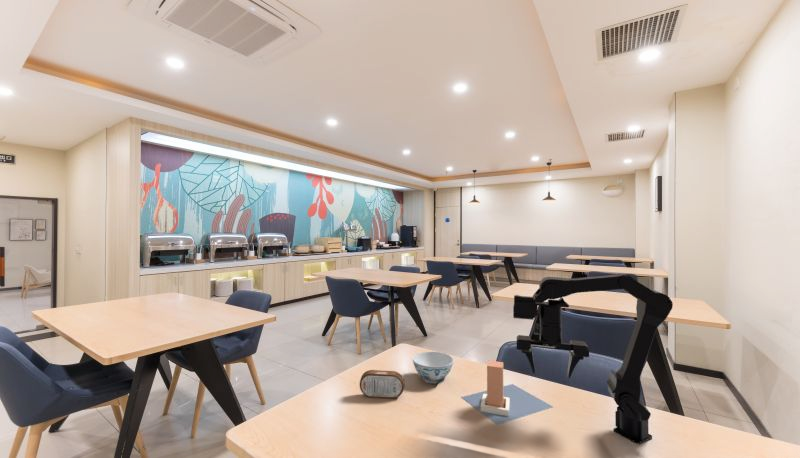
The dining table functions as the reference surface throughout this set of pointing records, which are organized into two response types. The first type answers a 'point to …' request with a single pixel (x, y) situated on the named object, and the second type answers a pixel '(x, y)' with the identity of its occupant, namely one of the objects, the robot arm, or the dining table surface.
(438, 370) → the chinaware
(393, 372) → the tin
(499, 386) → the terracotta pillar
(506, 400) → the snap socket
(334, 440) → the dining table surface
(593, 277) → the robot arm
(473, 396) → the board
